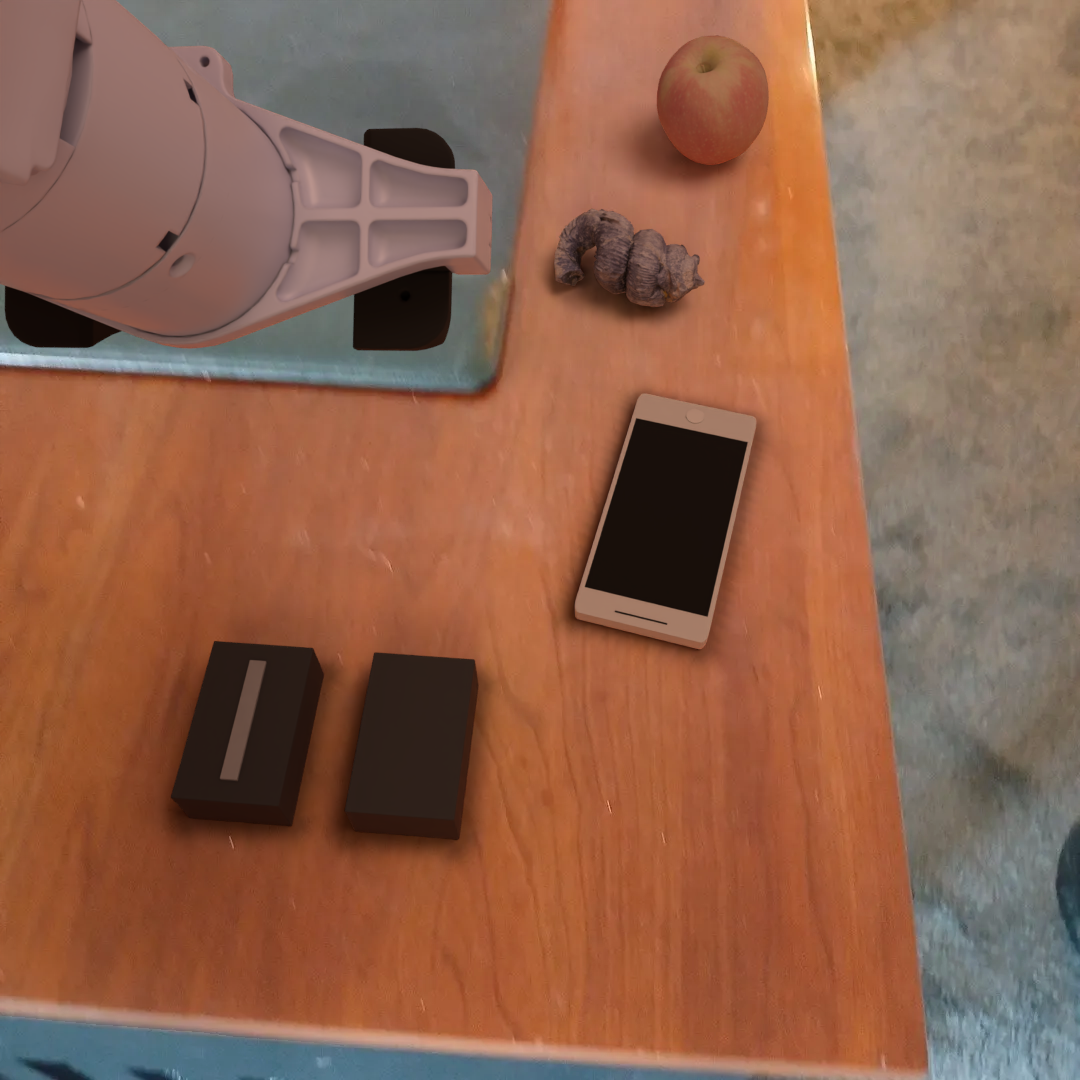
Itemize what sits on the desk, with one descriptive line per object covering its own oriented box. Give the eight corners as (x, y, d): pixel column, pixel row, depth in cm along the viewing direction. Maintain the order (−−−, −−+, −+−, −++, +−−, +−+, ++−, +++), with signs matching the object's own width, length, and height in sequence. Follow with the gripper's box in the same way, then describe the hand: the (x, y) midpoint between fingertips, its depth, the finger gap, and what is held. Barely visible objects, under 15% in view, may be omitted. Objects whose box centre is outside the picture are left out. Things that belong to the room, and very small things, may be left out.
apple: (650, 117, 79) (659, 14, 72) (753, 118, 78) (772, 14, 72) (653, 188, 74) (663, 85, 68) (762, 189, 74) (783, 86, 67)
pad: (459, 840, 50) (454, 820, 47) (354, 831, 50) (343, 811, 48) (478, 684, 54) (475, 658, 52) (382, 677, 54) (373, 651, 52)
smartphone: (756, 425, 63) (758, 415, 62) (705, 651, 55) (707, 643, 54) (638, 400, 64) (639, 390, 63) (571, 618, 56) (571, 610, 55)
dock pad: (292, 826, 50) (277, 804, 48) (189, 818, 50) (168, 796, 48) (324, 673, 54) (312, 645, 52) (229, 666, 55) (212, 638, 52)
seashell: (552, 285, 71) (695, 327, 69) (535, 270, 66) (689, 315, 64) (576, 207, 70) (721, 247, 69) (561, 186, 65) (717, 229, 63)
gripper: (434, -69, 20) (538, 164, 33) (-254, -36, 22) (107, 171, 35) (425, 312, 20) (532, 390, 33) (-255, 309, 22) (104, 384, 35)
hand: (314, 292), depth 34 cm, fingers open, 7 cm apart
